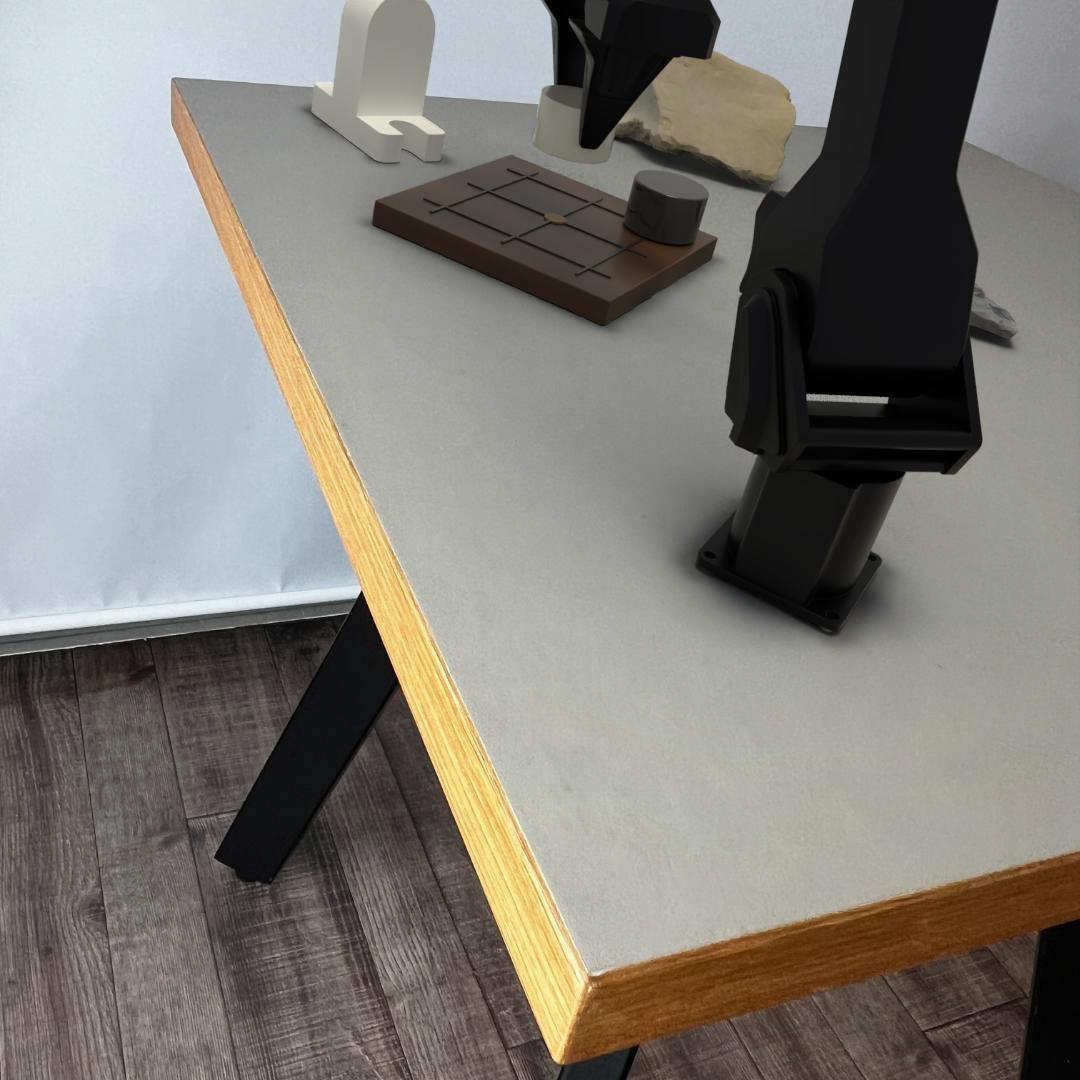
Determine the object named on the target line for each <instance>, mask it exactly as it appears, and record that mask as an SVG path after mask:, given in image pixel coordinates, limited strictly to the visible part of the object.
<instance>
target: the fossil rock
mask: <svg viewBox="0 0 1080 1080" xmlns="http://www.w3.org/2000/svg"><path fill="white" fill-rule="evenodd" d="M969 326H972V327H976V328H978V329H981V330H983V331H987V332H990V333H993V334H995V335H996V336H1000V337H1002V338H1005V339H1012V338H1014V337H1015V336H1016V335H1017V334H1018V333H1019V329H1018V328H1017V321H1016V319H1015V318H1014V317H1013V316H1012V314H1011V313H1010V312H1009V311H1007V309H1005V308H1003V307H1002V306H1000V305H999V304H998V303H997V302H995V300H993V299H991V298H989V297H988V296H987V295H986V292H985V291H984V289H983V288H982V287H980V286H979V284H978V283H976V282H975V288H974V295H973V302H972V309H971V316H970V323H969Z"/></svg>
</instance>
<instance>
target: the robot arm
mask: <svg viewBox="0 0 1080 1080" xmlns="http://www.w3.org/2000/svg"><path fill="white" fill-rule="evenodd" d="M540 1H541V4H543V6H544V7H545V9H546V11H547V13H548V14H549V16H550V17H549V18H550V24H551V39H552V40H551V41H552V63H553V64H552V67H553V69H552V70H553V85H566V86H573V87H578V88H583V93H582V103H581V113H580V127H579V145H580V146H581V148H584V149H591V150H596V149H598V148H599V146H600V145H601V144H602V143H603V141H604V140H605V139H606V138H607V136H608V135H609V134H610V133H611V131H612V130H613V129H614V128H615V126H616V125H617V124H618V123H619V121H620V120H621V119H622V118H623V116H624V115H625V114H626V112H627V111H628V110H629V109H630V107H631V106H632V105H633V104H634V102H635V101H636V100H637V99H638V98H639V96H640V95H641V94H642V93H643V92H644V90H645V89H646V88H647V87H648V86H649V85H650V84H651V83H652V81H653V80H654V79H655V78H656V77H657V76H658V75H659V74H660V73H661V71H662V70H663V69H664V68H665V67H666V66H667V65H668V64H669V63H670V61H671V60H672V59H673V58H680V57H681V56H684V57H690V58H696V59H703V60H706V59H710V58H711V56H712V52H713V51H714V49H715V45H716V41H717V39H718V34H719V31H720V27H721V24H722V20H721V19H720V16H719V15H718V12H717V10H716V9H715V6H714V4H713V2H712V0H540ZM999 1H1000V0H852V6H851V10H850V14H849V15H850V16H849V20H848V25H847V29H846V34H845V38H844V45H843V50H842V54H841V59H840V62H839V63H840V64H839V68H838V73H837V79H836V83H835V87H834V93H833V97H832V102H831V107H830V112H829V116H828V121H827V127H826V130H825V136H824V140H823V144H822V147H821V150H820V154H819V155H818V157H816V159H815V160H814V161H813V163H812V164H811V165H810V166H809V168H808V169H807V170H806V171H805V172H804V173H803V174H802V176H801V177H800V178H799V179H798V180H797V182H796V183H795V184H794V185H793V187H792V188H791V189H790V190H789V191H784V190H776V189H770V190H768V191H767V192H766V193H765V194H764V197H763V198H762V200H761V202H760V203H759V205H758V207H757V208H756V211H755V215H754V218H755V219H754V226H753V236H752V243H751V250H750V254H749V258H748V262H747V266H746V270H745V271H744V274H743V276H742V279H741V281H740V284H739V286H738V291H739V293H740V296H739V298H738V301H737V308H736V315H735V324H734V331H733V337H732V345H731V353H730V358H729V366H728V374H727V381H726V388H725V399H724V407H723V408H724V413H725V414H726V416H727V417H728V418H729V420H730V421H731V423H733V424H732V427H731V430H730V433H729V435H728V438H729V439H730V441H731V442H732V443H733V445H734V446H735V447H737V448H740V449H742V450H744V451H747V452H749V453H751V454H752V455H754V456H756V457H755V460H754V462H753V465H752V468H751V471H750V473H749V476H748V479H747V481H746V483H745V487H744V490H743V492H742V495H741V498H740V500H739V502H738V506H737V509H735V511H734V512H733V513H732V514H731V515H730V516H729V517H728V518H727V519H726V520H725V521H724V522H723V523H722V525H721V526H720V527H719V528H718V529H717V530H716V531H715V532H714V533H713V534H712V535H711V537H710V538H709V539H708V540H707V541H705V543H704V544H703V545H702V546H701V547H700V548H699V549H698V551H697V555H696V557H695V563H696V564H697V565H698V566H699V567H700V568H702V569H703V570H705V571H708V572H709V573H711V574H714V575H716V576H718V577H720V578H722V579H724V580H726V581H728V582H730V583H732V584H734V585H736V586H738V587H739V588H742V589H744V590H746V591H748V592H750V593H752V594H753V595H756V596H758V597H760V598H762V599H764V600H766V601H767V602H768V601H769V602H771V603H772V604H774V605H776V606H779V607H780V608H783V609H784V610H787V611H788V612H790V613H792V614H795V615H797V616H799V617H801V618H803V619H805V620H806V621H809V622H811V623H812V624H814V625H816V626H819V627H821V628H823V629H825V630H827V631H832V632H838V631H840V630H841V629H842V628H843V626H844V624H845V623H846V621H847V620H848V618H849V617H850V615H851V613H852V612H853V610H854V609H855V607H856V606H857V604H858V603H859V601H860V599H861V598H862V597H863V595H864V593H865V591H866V590H867V588H868V587H869V585H870V584H871V582H872V581H873V579H874V577H875V576H876V574H877V573H878V571H879V569H880V567H881V565H882V563H883V559H882V558H881V556H880V555H879V554H877V553H876V552H874V551H872V549H873V547H874V545H875V543H876V540H877V539H878V536H879V534H880V532H881V529H882V527H883V525H884V522H885V520H886V519H887V516H888V514H889V512H890V509H891V507H892V505H893V502H894V500H895V498H896V497H897V494H898V491H899V489H900V487H901V485H902V483H903V480H904V479H905V476H906V473H935V474H936V473H939V474H941V475H942V476H955V475H956V474H958V472H960V470H961V469H962V468H964V466H965V465H966V464H967V463H968V462H969V461H970V460H971V459H972V458H973V457H974V455H976V453H978V451H980V449H981V447H982V446H983V445H982V444H983V440H984V439H983V431H982V421H981V415H980V407H979V406H980V405H979V397H978V389H977V381H976V374H975V365H974V364H975V363H974V357H973V348H972V339H971V331H970V325H969V323H970V316H971V309H972V302H973V295H974V288H975V283H976V282H977V281H976V279H977V273H978V267H979V259H980V251H979V247H978V244H977V240H976V236H975V233H974V230H973V227H972V223H971V219H970V216H969V213H968V210H967V209H968V208H967V207H966V202H965V200H964V196H963V195H964V194H963V192H962V188H961V185H960V182H959V177H958V172H959V165H960V159H961V156H962V152H963V147H964V144H965V139H966V136H967V131H968V128H969V122H970V119H971V115H972V110H973V108H974V107H973V106H974V102H975V100H976V99H975V98H976V94H977V92H978V91H977V90H978V86H979V82H980V79H981V74H982V71H983V66H984V63H985V58H986V55H987V54H986V53H987V50H988V46H989V42H990V38H991V35H992V29H993V26H994V22H995V17H996V13H997V9H998V6H999ZM807 395H815V396H817V395H818V396H842V397H843V396H844V397H866V398H867V397H871V398H887V402H886V403H885V402H859V401H835V400H810V399H809V400H808V396H807Z"/></svg>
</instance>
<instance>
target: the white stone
mask: <svg viewBox="0 0 1080 1080" xmlns="http://www.w3.org/2000/svg"><path fill="white" fill-rule="evenodd" d="M582 93H583V88H578V87H573V86H566V85H554V84H551V85H545V86H544V87H542V89H541V92H540V96H539V101H538V105H537V109H536V110H537V111H536V115H535V119H534V125H533V128H532V129H533V130H532V134H531V139H530V141H531V143H532V145H533V146H534V147H535V148H536V149H538V150H539V151H541V152H543V153H545V154H547V155H549V156H551V157H554V158H557V159H560V160H564V161H568V162H573V163H577V164H585V165H598V164H603V163H606V162H608V161H609V160H610V157H611V153H612V149H613V145H614V141H615V138H616V136H615V134H616V130H617V126H618V124H617V125H616V126H615V128H614V129H613V130H612V131H611V133H610V134H609V135H608V136H607V138H606V139H605V140H604V141H603V143H602V144H601V145H600V146H599V148H598V149H596V150H591V149H584V148H581V146H580V145H579V127H580V113H581V103H582Z"/></svg>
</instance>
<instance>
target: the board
mask: <svg viewBox="0 0 1080 1080" xmlns="http://www.w3.org/2000/svg"><path fill="white" fill-rule="evenodd" d="M627 203H628V200H626V199H623V198H621V197H618V196H615V195H613V194H610V193H608V192H605V191H603V190H600V189H598V188H595V187H593V186H591V185H588V184H586V183H583V182H580V181H578V180H576V179H574V178H570V177H568V176H566V175H563V174H561V173H558V172H556V171H553V170H551V169H548V168H546V167H543V166H541V165H538V164H536V163H533V162H531V161H528V160H526V159H524V158H521V157H519V156H517V155H514V154H509V155H506V156H502V157H499V158H495V159H494V160H491V161H488V162H485V163H482V164H479V165H476V166H472V167H470V168H466V169H463V170H461V171H458V172H455V173H452V174H449V175H446V176H443V177H441V178H437V179H434V180H431V181H429V182H425V183H422V184H419V185H416V186H413V187H410V188H407V189H404V190H402V191H398V192H395V193H393V194H389V195H387V196H384V197H381V198H378V199H375V200H374V206H373V213H372V219H371V224H372V225H374V226H376V227H378V228H381V229H383V230H385V231H388V232H389V233H391V234H394V235H397V236H399V237H401V238H403V239H405V240H407V241H410V242H412V243H415V244H417V245H419V246H422V247H424V248H426V249H428V250H431V251H433V252H435V253H437V254H440V255H442V256H443V257H446V258H448V259H451V260H453V261H456V262H458V263H460V264H462V265H465V266H467V267H469V268H471V269H474V270H476V271H478V272H481V273H483V274H485V275H487V276H490V277H492V278H494V279H496V280H499V281H501V282H504V283H506V284H507V285H510V286H512V287H515V288H517V289H520V290H522V291H524V292H526V293H527V294H530V295H533V296H536V297H538V298H540V299H542V300H545V301H546V302H549V303H551V304H554V305H556V306H558V307H560V308H562V309H565V310H567V311H570V312H571V313H574V314H577V315H578V316H580V317H583V318H585V319H587V320H590V321H592V322H594V323H597V324H598V325H602V326H606V325H608V324H609V323H611V322H612V321H614V320H615V319H617V318H618V317H620V316H622V315H623V314H625V313H626V312H628V311H630V310H632V308H635V307H636V306H638V305H640V304H641V303H643V302H644V301H646V300H647V299H649V298H651V297H652V296H654V295H655V294H657V293H659V292H661V291H662V290H664V289H665V288H668V287H669V286H670V285H671V284H673V283H674V282H677V281H678V280H680V279H682V278H683V277H685V276H686V275H688V274H689V273H691V272H692V271H694V270H696V269H697V268H699V267H700V266H702V265H703V264H706V263H707V262H709V261H711V260H712V259H713V257H714V253H715V250H716V246H717V243H718V240H719V237H718V236H715V235H712V234H710V233H708V232H706V231H703V230H700V229H699V231H698V234H697V237H696V240H695V241H694V242H693V243H690V244H685V245H673V244H666V243H661V242H657V241H653V240H650V239H647V238H645V237H642V236H640V235H638V234H636V233H634V232H633V231H631V230H630V229H629V228H628V227H627V226H626V225H625V224H624V221H623V219H624V215H625V211H626V207H627Z"/></svg>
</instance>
